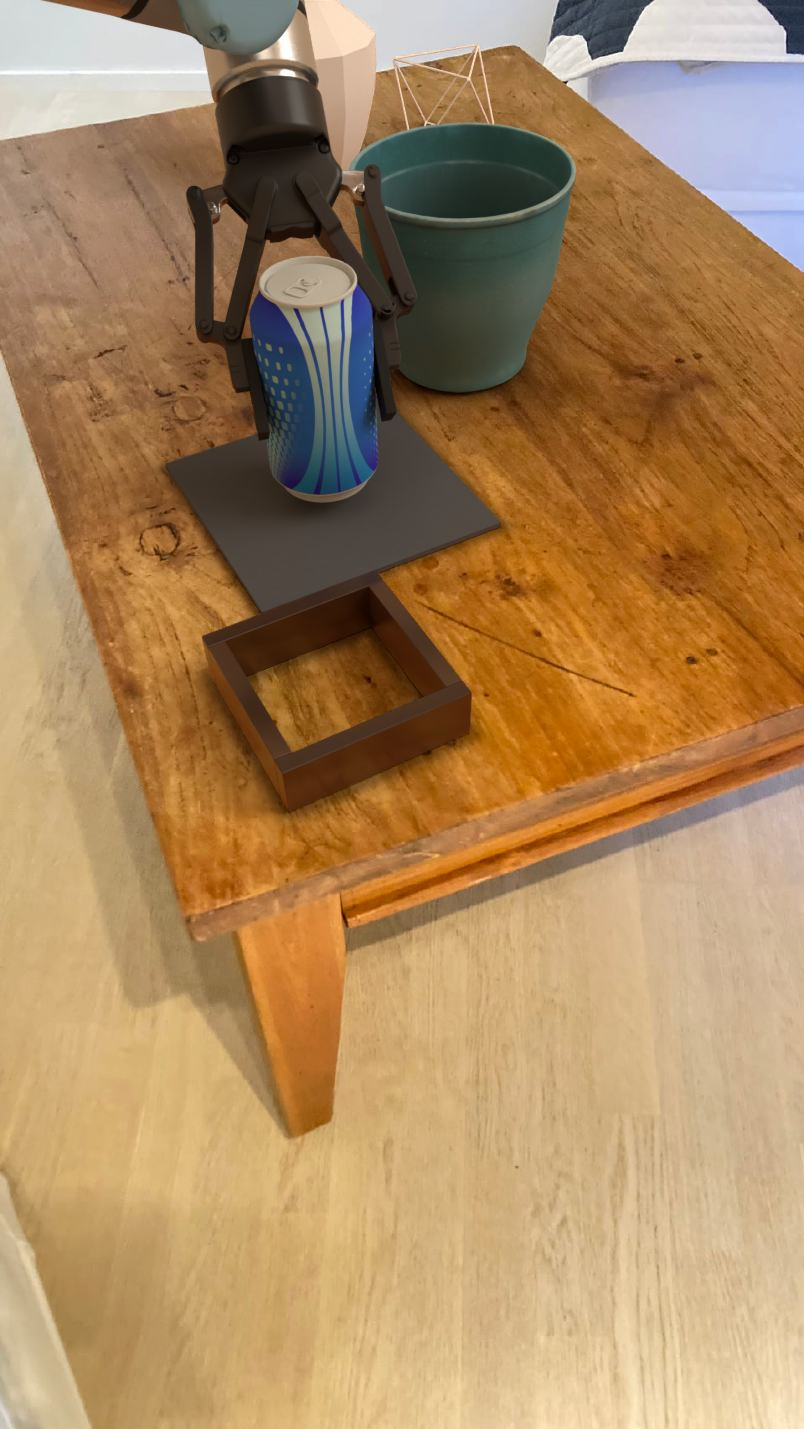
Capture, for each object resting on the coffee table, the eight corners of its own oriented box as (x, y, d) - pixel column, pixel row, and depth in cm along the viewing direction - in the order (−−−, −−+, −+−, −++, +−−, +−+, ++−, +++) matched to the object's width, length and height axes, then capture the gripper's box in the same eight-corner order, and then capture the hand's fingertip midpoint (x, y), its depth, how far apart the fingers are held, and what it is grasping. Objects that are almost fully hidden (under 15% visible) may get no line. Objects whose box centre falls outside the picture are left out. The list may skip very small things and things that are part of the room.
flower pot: (351, 416, 91) (338, 219, 78) (365, 308, 103) (356, 121, 90) (561, 418, 91) (583, 219, 78) (551, 309, 102) (569, 120, 89)
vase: (235, 167, 124) (201, -94, 105) (340, 138, 129) (325, -117, 110) (294, 213, 116) (269, -61, 97) (403, 180, 121) (399, -87, 102)
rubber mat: (165, 468, 87) (164, 463, 87) (380, 398, 93) (380, 393, 93) (263, 617, 76) (262, 612, 75) (500, 527, 81) (501, 522, 81)
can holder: (210, 676, 72) (200, 635, 69) (378, 611, 76) (376, 569, 73) (289, 813, 65) (282, 774, 62) (470, 733, 68) (472, 692, 65)
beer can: (259, 456, 84) (231, 262, 72) (359, 433, 86) (348, 240, 74) (288, 520, 79) (263, 322, 67) (393, 494, 81) (388, 297, 69)
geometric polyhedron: (501, 126, 130) (505, 43, 123) (493, 163, 123) (496, 77, 116) (401, 123, 132) (399, 40, 125) (388, 159, 125) (385, 74, 118)
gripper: (406, 108, 78) (459, 415, 81) (119, 141, 76) (181, 458, 78) (424, 53, 71) (481, 392, 73) (106, 87, 68) (175, 439, 70)
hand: (327, 426), depth 75 cm, fingers closed on beer can, 8 cm apart
